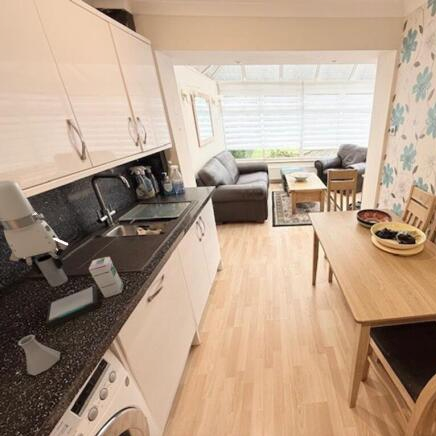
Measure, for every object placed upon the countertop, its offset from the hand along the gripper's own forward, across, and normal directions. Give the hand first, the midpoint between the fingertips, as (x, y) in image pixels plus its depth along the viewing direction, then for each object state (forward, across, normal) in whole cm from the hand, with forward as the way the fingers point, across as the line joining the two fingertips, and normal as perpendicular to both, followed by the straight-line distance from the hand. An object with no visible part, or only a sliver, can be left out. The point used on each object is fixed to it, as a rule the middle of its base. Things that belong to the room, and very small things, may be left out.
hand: (51, 269), depth 81 cm
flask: (+18, +2, +23) cm, 29 cm away
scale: (+18, 0, 0) cm, 18 cm away
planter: (+6, 0, 0) cm, 6 cm away
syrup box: (+18, -12, -3) cm, 22 cm away
